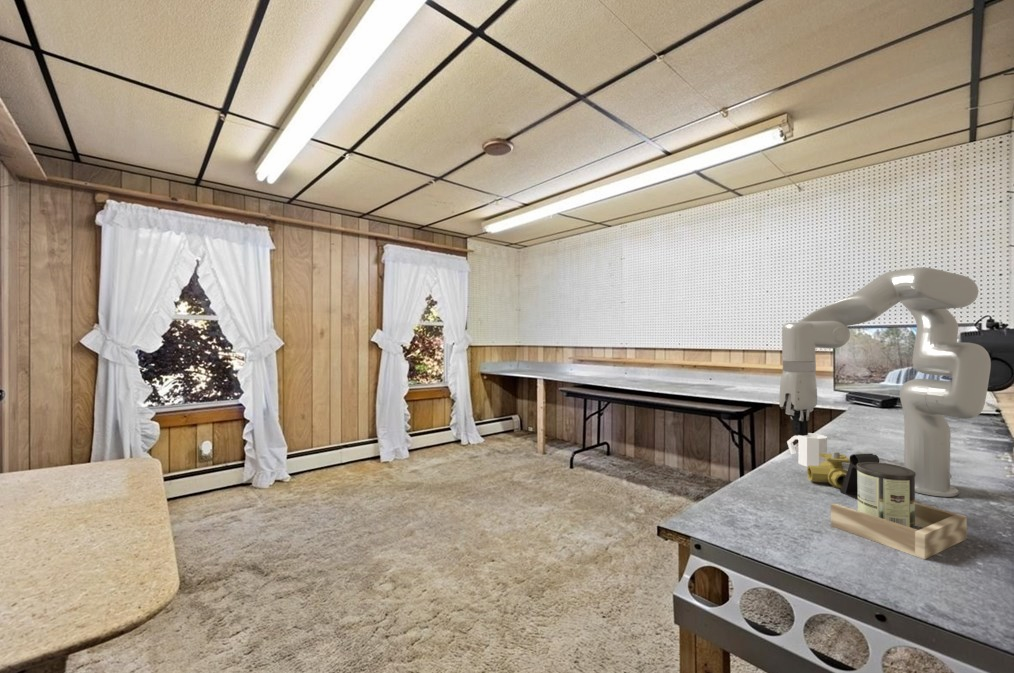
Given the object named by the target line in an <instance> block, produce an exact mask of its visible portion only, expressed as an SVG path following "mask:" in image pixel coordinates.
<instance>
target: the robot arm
mask: <svg viewBox="0 0 1014 673" xmlns="http://www.w3.org/2000/svg"><path fill="white" fill-rule="evenodd" d="M978 295H979V288H978V284H976V282H975V281H974V280H973V279H971V278H970V277H968V276H966V275H962V274H959V273H953V272H949V271H946V270H941V269H936V268H933V267H932V268H930V267H922V266H921V267H913V268H904V269H897V270H896V269H895V270H892V271H891V270H890V271H888V272H884V273H882V274H880V275H879V276H877V277H876V278H875V279H873V280H871V281H870V282H868V283H867V284H866V285H864V286H863V287H861V288H860V289H858V290H857V291H855V292H854V293H853V294H851V295H849V296H847V297H845V298H842V299H839V300H837V301H834V302H832V303H830V304H828V305H825V306H822V307H821V308H818V309H816V310H814V311H813V312H810V313H809V314H808V315H806V316H805V317H803V318H802V319H800V320H799V321H798V322H786V323H784V324H783V325H782V327H781V343H782V344H781V348H782V352H781V353H782V373H781V377H780V383H779V397H778V398H779V400H778V401H779V407H780V409H784V410H785V414H786V415H788V416H790V420H791V425H792V426H791V429H792V430H791V432H792V434H793V435H795V436H798V435H801V436H805V435H808V433H809V424H808V423H809V422H808V421H809V420H810V413H812V412H813V411H814V408H816V407H817V405H818V385H817V379H816V378H817V377H816V374H817V364H816V362H817V361H816V349H817V348H818V349H838V348H841V347H843V346H845V345H846V344H848V342H849V341H850V338H851V331H850V329H849V326H855V325H860V324H863V323H867V322H871V321H873V320H875V319H877V318H878V317H880V316H882V315H883V314H884V313H886V312H887V311H888V310H890V309H891V308H892V307H894V306H895V305H897V304H899V303H900V302H901V304H902V305H903V306H904V308H906V309H907V310H908V311H909V312H910V314H911V316H913V318H914V320H915V323H916V332H915V333H916V334H915V339H914V340H915V341H914V346H913V347H914V348H913V353H912V360H911V361H912V366H913V368H914V370H915V371H917V372H918V373H922V374H925V375H931V376H941V377H942V376H943V377H952V378H951V381H948V380H939V379H931V378H929V379H928V378H914V379H913V378H912V379H910V380H907V381H906V382H904V383H903V384H902V385H901V387H900V389H899V399H900V404H901V408H902V412H903V422H904V424H903V425H904V428H903V429H904V432H903V433H904V436H903V437H904V438H903V439H904V440H903V442H904V443H903V444H904V446H903V447H904V450H903V451H904V453H903V454H904V455H903V456H904V459H903V460H904V461H903V463H904V464H903V465H904V466H903V467H905V468H908V469H910V470H912V471H914V472H915V473H916V476H915V493H918V494H922V495H927V496H934V497H945V498H947V497H948V498H950V497H951V498H952V497H957V496H958V495H959V490H958V488H956V487H954V486H952V485H951V479H952V476H953V475H952V474H951V438H952V437H951V429H950V426H949V423H948V422H947V419H946V418H945V417H944V416H946V417H951V418H957V419H965V420H966V419H968V420H969V419H974V418H976V417H978V416H979V415H980V414H981V413H982V411H983V409H984V408H985V405H986V399H987V393H988V387H989V381H990V380H989V379H990V375H991V367H992V366H991V365H992V363H991V362H992V361H991V357H990V354H989V352H988V351H987V350H986V349H985V347H984V346H982V345H980V344H977V343H973V342H965V341H964V342H961V341H960V342H959V341H958V334H959V323H958V321H957V319H956V318H955V316H954V315H953V314H952V313H951V312H950V311H949V310H948V309H960V308H965V307H969V306H971V305H972V304H973V303H974V302H975V301H976V300H977V299H978Z"/></svg>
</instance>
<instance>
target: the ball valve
mask: <svg viewBox="0 0 1014 673" xmlns="http://www.w3.org/2000/svg"><path fill="white" fill-rule="evenodd" d="M819 456H820V457H824V458H825V460H826V461H825V462H822V463H820V465H819V466H808V467H806V475H807V479H808V481H810V482H820V483H829V484H830V485H831V486H832V487H834V488H836V489H841V487H842V485H843V482H844V479H845V476H846V474H847V471H848V469H844V465H843V463H845V464H850V458H847V455H845V454H840V451H836V450H833V451H831V453H827V454H825V453H819Z"/></svg>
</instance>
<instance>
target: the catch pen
mask: <svg viewBox="0 0 1014 673" xmlns="http://www.w3.org/2000/svg"><path fill="white" fill-rule="evenodd" d="M967 519H968V518H967V516H966V515H963V514H959V513H956V512H953V511H949V510H945V509H942V508H941V509H940V508H938V507H933V506H930V505H927V504H923V503H919V502H916V501H915V527H920V529H917V528H915V529H914V528H911V527H907V526H904V525H901V524H898V523H895V522H892V521H888V520H885V519H882V518H879V517H876V516H873V515H870V514H866V513H863V512H860V511H858V509H857V510H856V509H853V508H850V507H847V506H845V505H840V504H837V503H832V504H830V527H834V528H836V529H839V530H842V531H844V532H848V533H851V534H853V535H855V536H858V537H861V538H864V539H867V540H870V541H873V542H876V543H877V544H881V545H884V546H886V547H889V548H892V549H894V550H897V551H899V552H900V551H901V552H903V553H906V554H907V555H911V556H913V557H917V558H919V559H921V560H926V559H928V558H930V557H933V556H935V555H937V554H939V553H941V552H943V551H945V550H947V549H949V548H952V547H953V546H955V545H957V544H959V543H961V542H964V541H966V540H967V531H968V530H967V524H968V523H967V522H968V521H967Z"/></svg>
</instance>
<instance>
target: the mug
mask: <svg viewBox="0 0 1014 673" xmlns="http://www.w3.org/2000/svg"><path fill="white" fill-rule="evenodd" d="M796 440H798V444H797V445H798V448H797V449H798V451H797V450H796V447H795V445H794V442H795V441H796ZM786 443H787V446H788V450H789V453H790V455H791V456H792V455H796V454H797V452H798V458H797V460H798V462H797V463H798V465H800V466H804V467H806V468H807V467H808V466H819V465H820V463H822V462H825V461H826V460H825V458H824V457H820V456H819V453H825V454H828V436H827V435H823V434H819V433H812V432H808V435H805V436H801V435H793V436H791V438H790V439H788V440H787V441H786Z"/></svg>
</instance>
